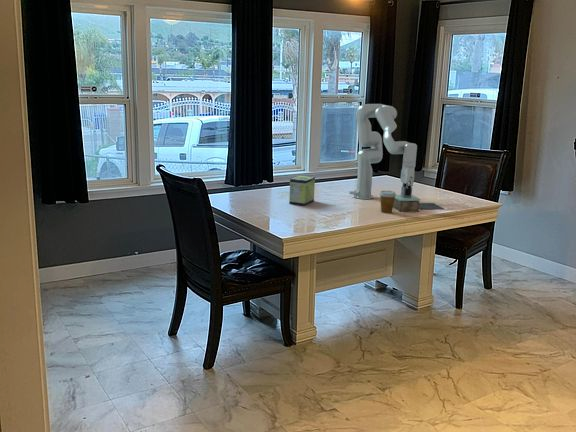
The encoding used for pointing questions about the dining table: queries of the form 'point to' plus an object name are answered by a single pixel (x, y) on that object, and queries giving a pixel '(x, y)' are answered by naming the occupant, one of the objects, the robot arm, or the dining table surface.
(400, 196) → the lid
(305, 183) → the protein box
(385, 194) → the disposable coffee cup
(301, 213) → the dining table surface
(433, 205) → the rubber mat
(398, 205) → the storage box
